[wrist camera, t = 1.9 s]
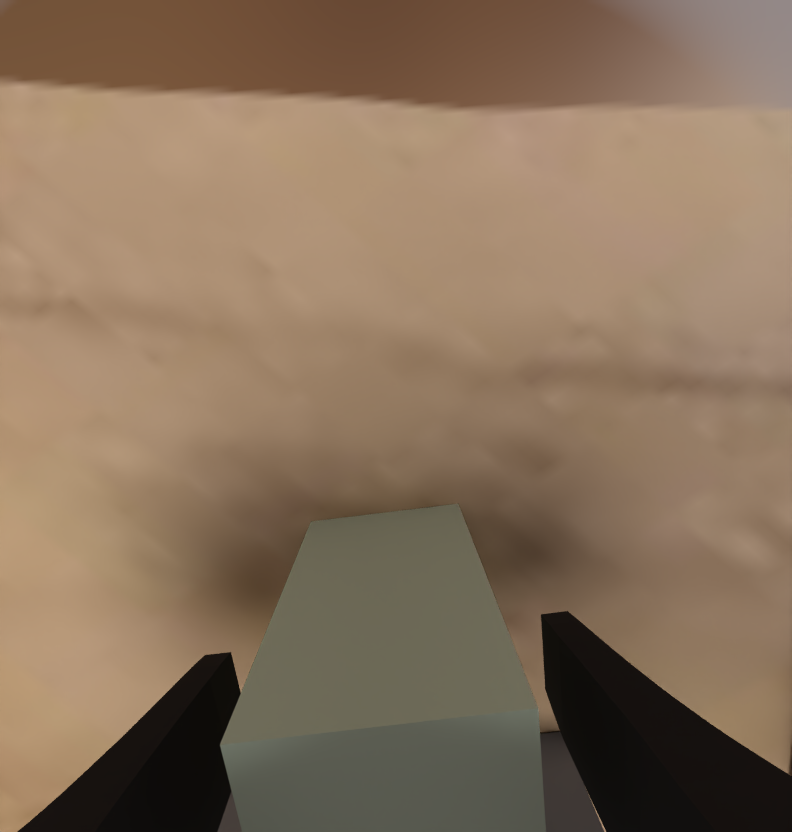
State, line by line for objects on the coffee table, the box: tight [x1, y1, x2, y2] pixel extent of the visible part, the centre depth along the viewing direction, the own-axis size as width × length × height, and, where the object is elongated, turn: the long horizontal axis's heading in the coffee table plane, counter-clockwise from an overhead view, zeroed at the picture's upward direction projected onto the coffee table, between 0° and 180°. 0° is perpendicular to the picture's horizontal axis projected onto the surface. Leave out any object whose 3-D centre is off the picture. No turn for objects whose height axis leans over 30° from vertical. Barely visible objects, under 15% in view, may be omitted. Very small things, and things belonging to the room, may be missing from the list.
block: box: [220, 504, 546, 832], centre depth 10 cm, size 4×4×7 cm
